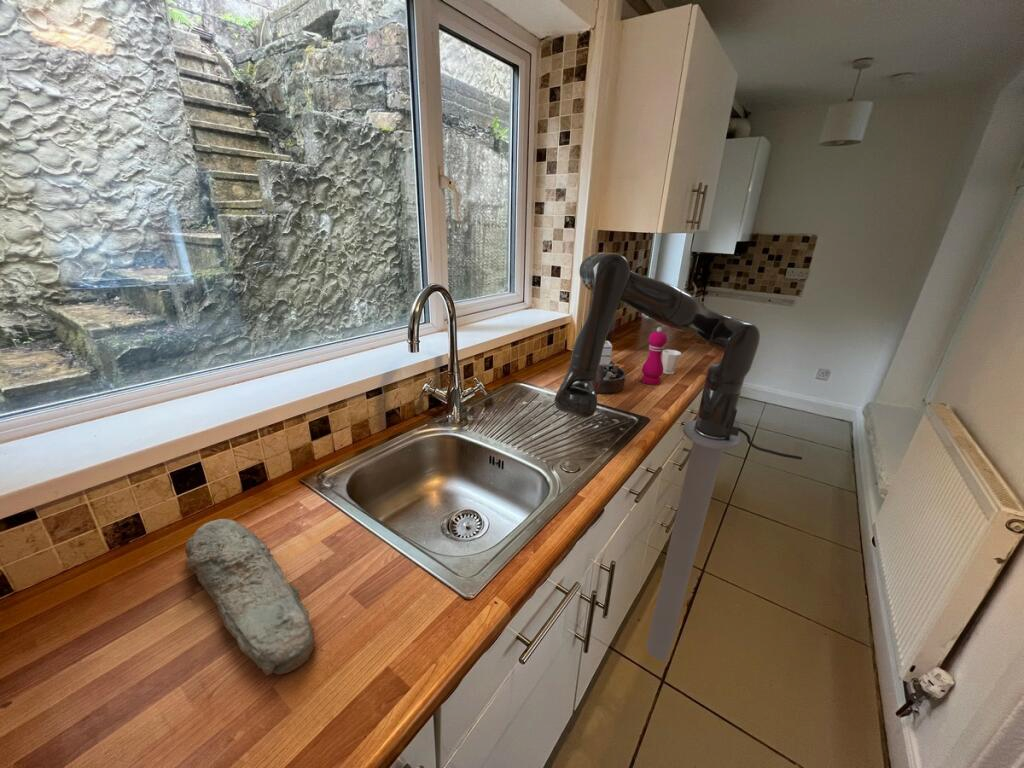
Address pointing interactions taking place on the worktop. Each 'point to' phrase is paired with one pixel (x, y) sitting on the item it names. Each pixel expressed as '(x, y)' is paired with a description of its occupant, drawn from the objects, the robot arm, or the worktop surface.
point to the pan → (613, 383)
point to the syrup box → (606, 355)
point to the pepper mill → (654, 358)
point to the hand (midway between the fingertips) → (597, 361)
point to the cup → (670, 360)
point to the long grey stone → (251, 595)
